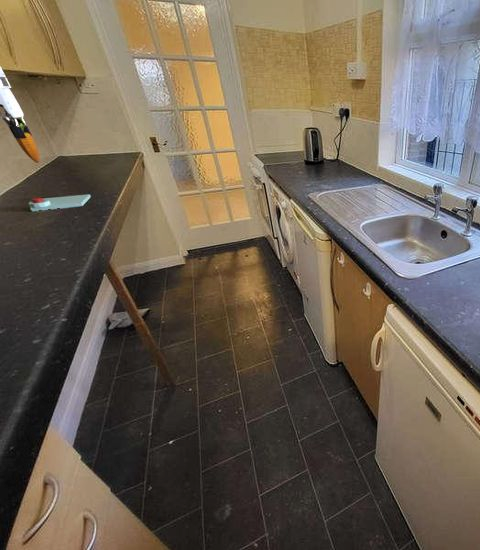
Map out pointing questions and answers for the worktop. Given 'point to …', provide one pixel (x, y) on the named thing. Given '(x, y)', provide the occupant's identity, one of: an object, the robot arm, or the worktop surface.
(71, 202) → the scale
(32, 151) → the carrot
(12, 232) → the worktop surface
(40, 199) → the tare button
